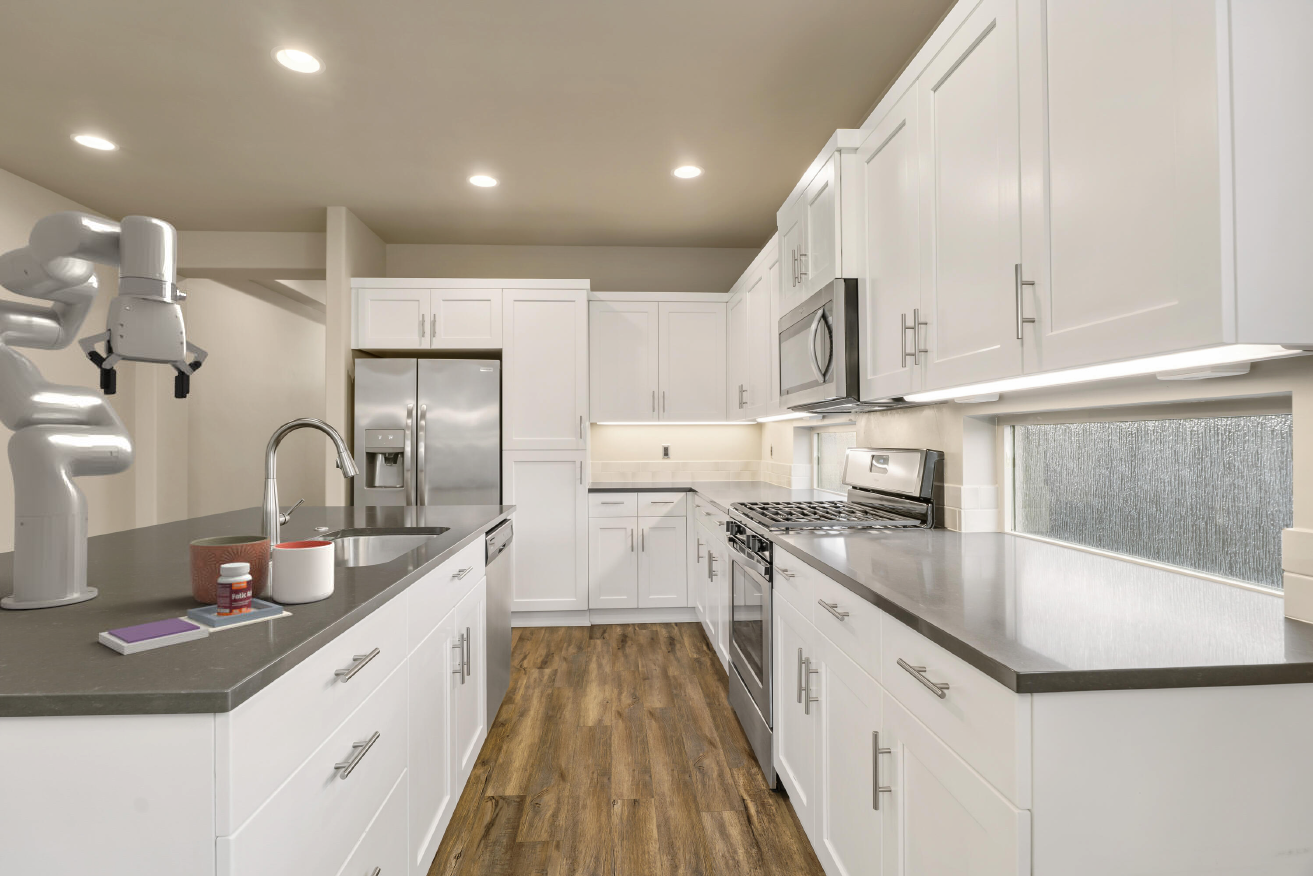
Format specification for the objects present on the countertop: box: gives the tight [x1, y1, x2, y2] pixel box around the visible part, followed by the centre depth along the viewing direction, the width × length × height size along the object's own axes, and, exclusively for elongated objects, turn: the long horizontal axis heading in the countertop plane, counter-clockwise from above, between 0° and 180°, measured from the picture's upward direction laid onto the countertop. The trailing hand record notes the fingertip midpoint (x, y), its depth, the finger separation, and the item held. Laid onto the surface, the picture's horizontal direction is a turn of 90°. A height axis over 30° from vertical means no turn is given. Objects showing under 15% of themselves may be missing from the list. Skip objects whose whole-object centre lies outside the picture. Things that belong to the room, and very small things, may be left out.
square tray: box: [179, 597, 293, 634], centre depth 105 cm, size 12×12×2 cm
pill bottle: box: [216, 563, 252, 618], centre depth 105 cm, size 5×5×8 cm
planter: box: [188, 534, 272, 605], centre depth 117 cm, size 12×12×11 cm
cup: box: [271, 539, 335, 605], centre depth 118 cm, size 10×10×10 cm
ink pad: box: [98, 617, 210, 656], centre depth 93 cm, size 10×10×2 cm
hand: (146, 396), depth 106 cm, fingers open, 9 cm apart
